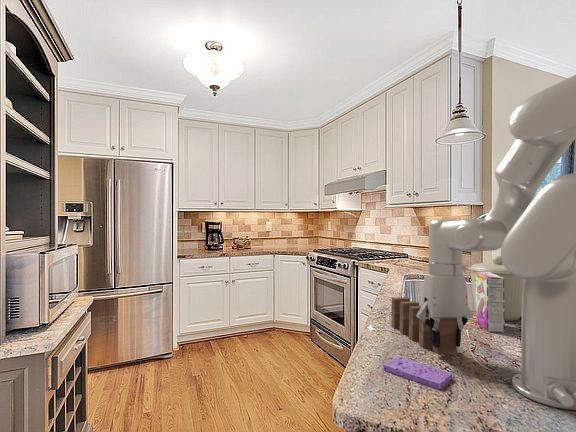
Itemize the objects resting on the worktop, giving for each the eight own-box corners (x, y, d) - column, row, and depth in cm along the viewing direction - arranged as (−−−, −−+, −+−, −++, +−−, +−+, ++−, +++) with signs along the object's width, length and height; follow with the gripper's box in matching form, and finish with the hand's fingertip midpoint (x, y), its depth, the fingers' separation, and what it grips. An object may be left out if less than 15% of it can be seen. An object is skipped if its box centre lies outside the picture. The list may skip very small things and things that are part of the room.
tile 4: (419, 333, 101) (419, 302, 102) (402, 334, 101) (403, 303, 101) (415, 331, 103) (415, 301, 104) (399, 332, 103) (399, 301, 103)
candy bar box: (474, 321, 115) (474, 271, 115) (491, 322, 114) (491, 272, 114) (486, 332, 104) (486, 276, 104) (505, 333, 103) (505, 277, 103)
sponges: (397, 363, 81) (397, 355, 81) (454, 381, 72) (454, 372, 72) (382, 372, 77) (382, 363, 77) (439, 392, 68) (439, 383, 68)
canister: (494, 308, 132) (494, 252, 132) (543, 322, 115) (543, 257, 115) (456, 312, 126) (456, 253, 126) (501, 327, 109) (501, 259, 109)
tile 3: (429, 340, 96) (429, 307, 96) (412, 341, 95) (412, 307, 95) (425, 337, 98) (425, 305, 98) (408, 338, 97) (409, 306, 97)
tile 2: (441, 347, 91) (441, 312, 91) (423, 348, 90) (423, 313, 90) (436, 344, 93) (436, 310, 93) (419, 345, 92) (419, 311, 92)
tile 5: (409, 328, 107) (409, 298, 107) (394, 328, 106) (394, 299, 106) (406, 326, 109) (406, 297, 109) (391, 326, 108) (391, 297, 108)
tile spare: (456, 352, 84) (456, 314, 84) (437, 353, 84) (437, 315, 84) (451, 349, 86) (451, 312, 86) (433, 350, 85) (433, 313, 86)
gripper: (466, 267, 90) (466, 338, 90) (405, 268, 88) (404, 341, 87) (487, 271, 83) (487, 349, 82) (420, 272, 80) (420, 352, 80)
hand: (445, 344), depth 85 cm, fingers closed on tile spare, 4 cm apart
